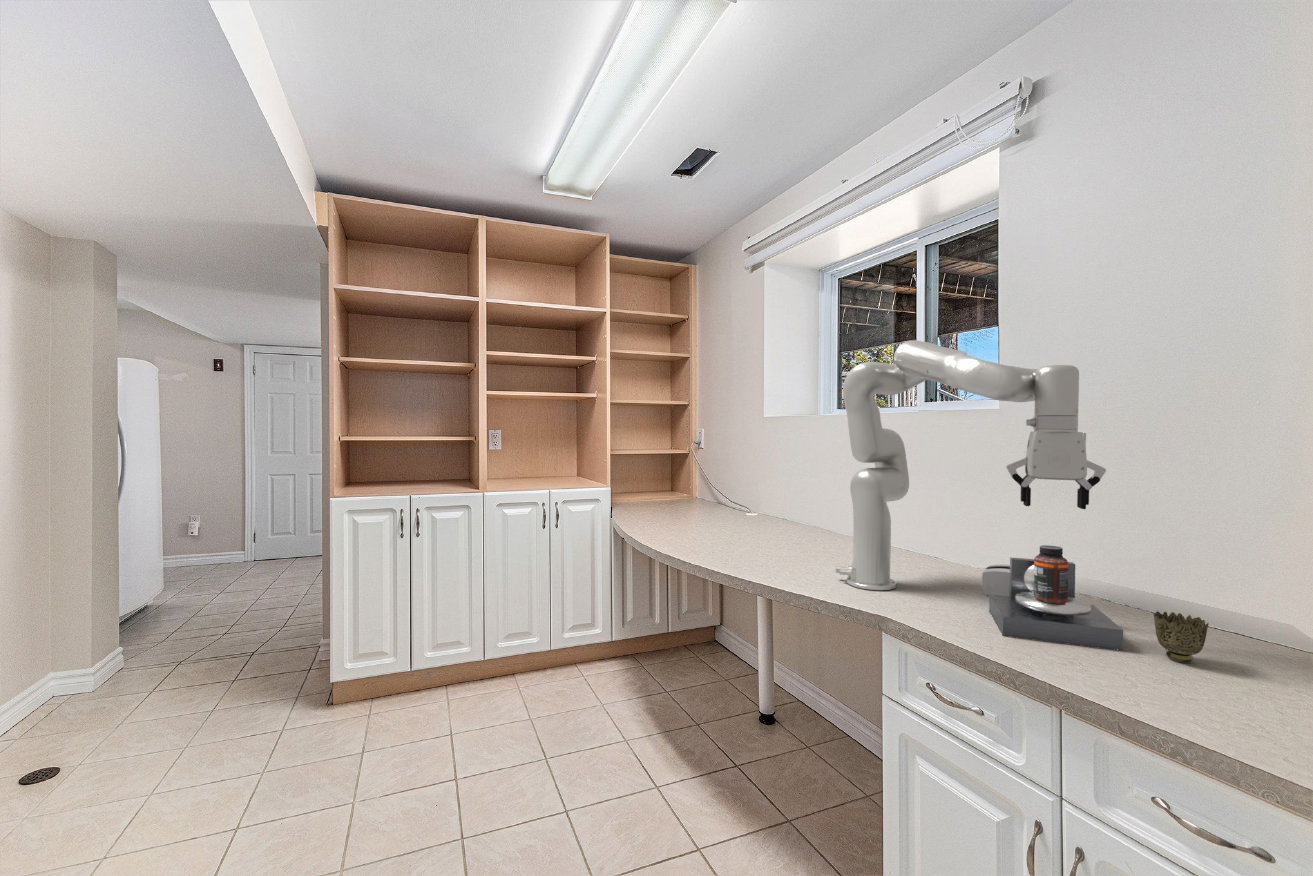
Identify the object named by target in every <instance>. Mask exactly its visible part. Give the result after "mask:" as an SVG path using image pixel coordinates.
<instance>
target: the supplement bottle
mask: <svg viewBox="0 0 1313 876" xmlns="http://www.w3.org/2000/svg"><path fill="white" fill-rule="evenodd" d="M1063 552H1064V551H1063V547H1061V546H1057V545H1049V544H1048V545H1047V544H1046V545H1045V544H1044V545H1043V544H1042V545H1039V553H1038V554H1037V555H1036V556H1035V557H1034V597H1035V598H1036V599H1037V600H1040V601H1043V602H1046V603H1054V604H1063V603H1066V602H1067V601H1068V562H1069V561H1068V560H1067V558H1065V557H1064V556H1063Z"/></svg>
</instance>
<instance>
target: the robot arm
mask: <svg viewBox="0 0 1313 876" xmlns="http://www.w3.org/2000/svg"><path fill="white" fill-rule="evenodd" d="M893 361H894V363H886V362H880V361H879V362H878V361H866V362H865V361H864V362H861V363H859V364H857V365H855V366H854V367H852V369H850V370H849V372H848V373H847V375H846V376H845V379H844V381H843V386H842V396H843V402H844V406H845V411H846V417H847V425H848V426H847V427H848V435H849V442H850V449H851V450H850V451H851V453H852V456H853V457H854V459H855V460H856V461H857V462H860V463H864V464H870V463H872V464H874V466H875V467H867V468H863V469H859V471H857V472H856V473H854V475H853V476H852V478H851V481H850V485H849V486H850V487H849V489H850V490H849V491H850V495H851V500H852V501H851V502H852V511H853V512H852V515H853V517H852V518H853V522H852V523H853V532H852V534H853V535H852V537H853V538H852V539H853V540H852V543H853V545H852V563H851V566H850V565H848V566H847V567H846V566H843V565H842V566H841V565H836V566H835V573H836V574H839V575H841V576H842V575H843V576H847V577H846V583H847V584H848V585H849V586H853V587H855V588H859V589H862V590H863V589H864V590H869V591H870V590H871V591H890V590H894V589H896V588H897V581H895V580H894V579H892V578H891V557H892V556H891V551H892V549H891V546H892V543H891V540H892V520H891V519H892V518H891V514H890V513H891V512H890V510H889V506H888V503H889V502H897V501H899V500H902V499H903V498H904V497H905V496H906V495H907V493H908V492H909V488H910V475H909V470H908V460H907V455H906V454H907V453H906V448H905V444H904V441H903V439H902V437H901V436H900V434H899V433H897V431H895V430H893V429H891V428H890V429H889V428H883V426H882V419H881V413H880V409H879V406H878V404H877V402H876V400H875V398H874V395H876V394H877V395H883V396H885V395H886V396H896V395H900V394H903V393H905V392H906V391H908V390H910V389H912V388H914V387H916V386H918V385H920V384H922V383H924V382H925V381H927V380H929V381H933V382H936V383H939V384H943V385H946V386H949V387H951V388H955V389H959V390H961V391H963V392H967V393H969V394H970V393H971V394H974V395H977V396H981V397H984V398H987V399H991V400H994V401H1000V402H1012V403H1013V402H1014V403H1027V402H1034V416H1033V417H1032V418H1029V419H1026V421H1025V424H1026V427H1028V426H1030V427H1032V428H1033V431H1030V432H1029V436H1028V441H1027V445H1026V446H1027V447H1026V451H1025V453H1026V454H1025V458H1021V459H1019V460H1017V461H1014V462H1012V463H1010V464H1007V465H1006V466H1005V467H1006V470H1007V471H1008V474H1009V475H1010V477H1011V478H1012V479H1013V480H1014V481H1015V482H1016V483H1017V484H1018V485H1019V486H1020V502H1023V505H1024V506H1026V507H1030V506H1031V505H1032V504H1031V503H1032V502H1031V501H1032V499H1031V497H1032V489H1031V487H1030V484H1031V483H1032V482H1033V481H1034V480H1036V479H1037V480H1054V481H1055V480H1056V481H1057V480H1059V481H1075V483H1077V485H1079V487H1078V488H1077V492H1076V493H1077V495H1076V496H1077V497H1076V499H1077V500H1076V506H1077V508H1079V509H1082V510H1086V509H1087V506H1088V505H1089V504H1090V490H1092V488H1093V487H1095V486H1096V485H1097V484H1098V483H1099V482H1100V481H1101V480H1102V478H1103V477H1104V475H1105V473H1106V472H1107V469H1106V468H1104V467H1103V466H1100V465H1099V464H1096V463H1094V462H1093V461H1090V460H1088V458H1087V449H1086V441H1085V436H1084V432H1083V431H1079V398H1080V397H1079V395H1080V394H1079V392H1080V391H1079V390H1080V370H1079V368H1078V367H1076V366H1075V365H1072V364H1071V365H1069V364H1054V365H1051V364H1050V365H1046V366H1044V365H1043V366H1041V367H1039V368H1038V369H1037V368H1025V367H1020V366H1013V365H1011V366H1010V365H1007V364H1006V365H1005V364H1001V363H997V362H993V361H988V360H984V359H981V358H977V357H973V356H970V355H968V353H967V352H965V351H963V350H960V349H953V348H951V347H945V346H941V345H938V344H936V343H933V342H928V341H922V340H908V341H905V342H903V343H901V344H900V345H899V346H897V348H896V349H895V351H894V355H893ZM1023 466H1024V472H1025V473H1024V474H1025V475H1024V477H1022V476H1021V475H1020V474H1019V473H1018V472H1017V470H1018V469H1019V468H1021V467H1023ZM1088 469H1090V470H1092V471H1094V472H1093V475H1092V476H1091V477H1089V479H1086V478H1087V476H1088V475H1087V474H1088Z"/></svg>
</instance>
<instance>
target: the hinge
mask: <svg viewBox="0 0 1313 876" xmlns="http://www.w3.org/2000/svg"><path fill="white" fill-rule="evenodd" d="M981 580H982V581H981V583H982V584H981V586H982V587H981V589H982V590H981V592H982V593H981V594H982V596H983V595H984V596H987V595H988V596H987V597H989V594H991V595H1001V596H1009V585H1010V564H991V565H989V566H986V567H985V569H984V570H983V572H982V574H981Z"/></svg>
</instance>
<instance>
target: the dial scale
mask: <svg viewBox="0 0 1313 876" xmlns="http://www.w3.org/2000/svg"><path fill="white" fill-rule="evenodd" d="M1009 565H1010V585H1009V596H1001V595H991V594H989V596H988V599H989V600H988V601H989V602H988V612H989V613H990V616H991V615H992V616H991V617H993V618H992V619H993V621H994V622H995V625H996V624H997V625H996V626H997V628H998V630H999V632H1000V634H1001V633H1002V634H1001V635H1002V636H1003V637H1008V636H1012V637H1011V638H1016V637H1018V639H1024V638H1027V639H1026V640H1032V639H1034V641H1040V640H1043V641H1042V642H1048V643H1049V642H1050V643H1056V644H1064V643H1067V644H1066V645H1072V644H1073V646H1080V645H1084V646H1083V647H1088V646H1089V648H1090V647H1091V648H1096V647H1099V649H1104V648H1105V649H1106V650H1113V649H1115V650H1114V651H1121V650H1123V651H1124V629H1123V628H1121V626H1119V625H1118V624H1117V623H1116V622H1115V621H1113V620H1112V619H1111V618H1110V617H1109V616H1107V614H1105V613H1104V612H1103V611H1101V610H1100V608H1098V607H1097V606H1095V604H1090V603H1088V602H1086V601H1084V600H1081V599H1079V598H1075V597H1076V563H1074V562H1073V561H1068V601H1067V602H1066V603H1063V604H1054V603H1046V602H1043V601H1040V600H1037V599H1036V598H1035V597H1034V559H1033V558H1023V557H1021V558H1020V557H1011V556H1010V557H1009ZM1057 642H1058V643H1057ZM1068 643H1069V644H1068ZM1117 649H1118V650H1117Z"/></svg>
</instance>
